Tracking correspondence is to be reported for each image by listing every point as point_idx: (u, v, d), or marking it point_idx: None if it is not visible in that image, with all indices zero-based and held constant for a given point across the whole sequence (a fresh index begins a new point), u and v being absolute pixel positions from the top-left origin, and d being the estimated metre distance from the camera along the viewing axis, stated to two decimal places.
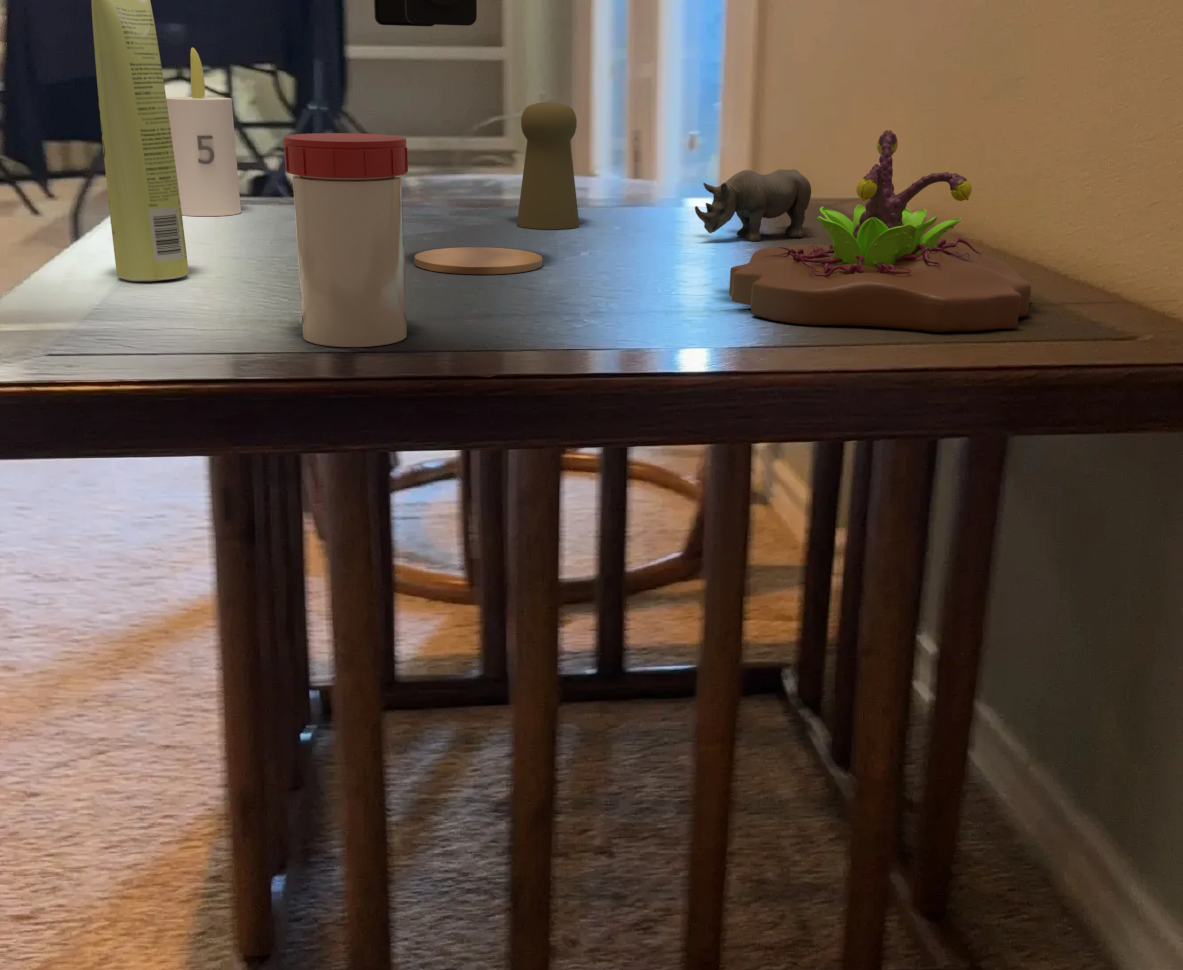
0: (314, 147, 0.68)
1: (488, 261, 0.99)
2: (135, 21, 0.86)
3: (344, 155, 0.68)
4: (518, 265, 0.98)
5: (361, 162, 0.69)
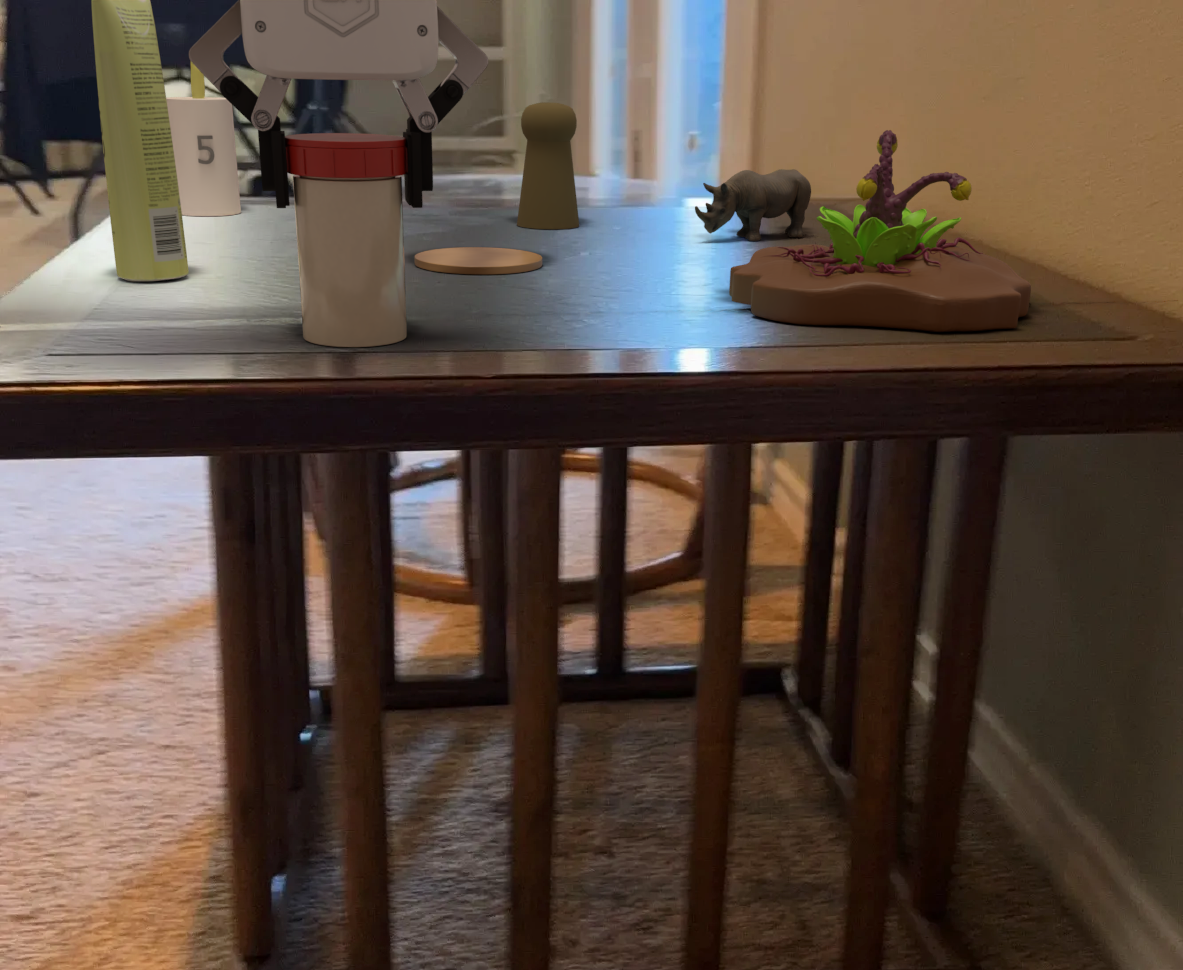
0: (314, 147, 0.68)
1: (488, 261, 0.99)
2: (135, 21, 0.86)
3: (344, 155, 0.68)
4: (518, 265, 0.98)
5: (361, 162, 0.69)
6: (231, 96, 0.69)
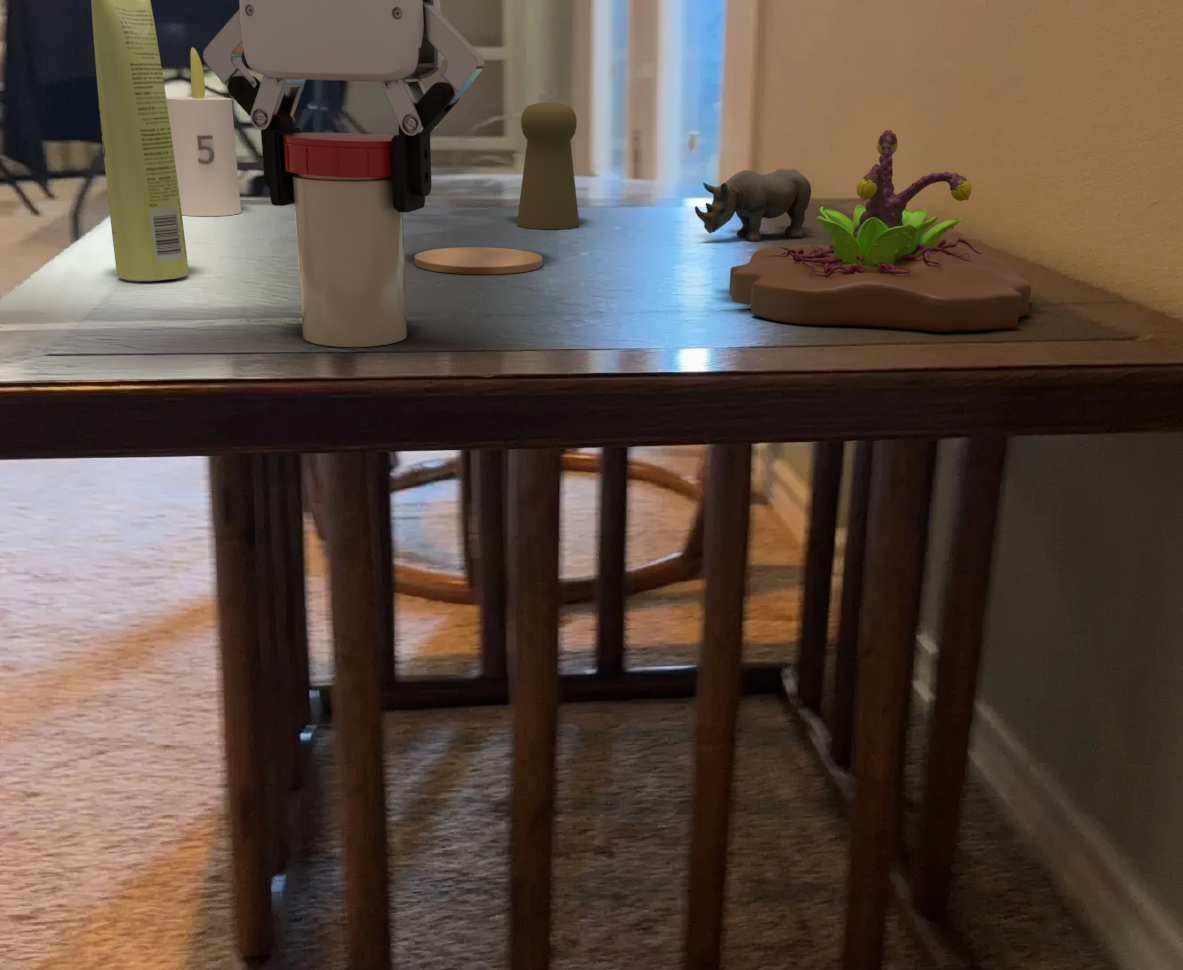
0: None
1: (488, 261, 0.99)
2: (135, 21, 0.86)
3: None
4: (518, 265, 0.98)
5: None
6: None
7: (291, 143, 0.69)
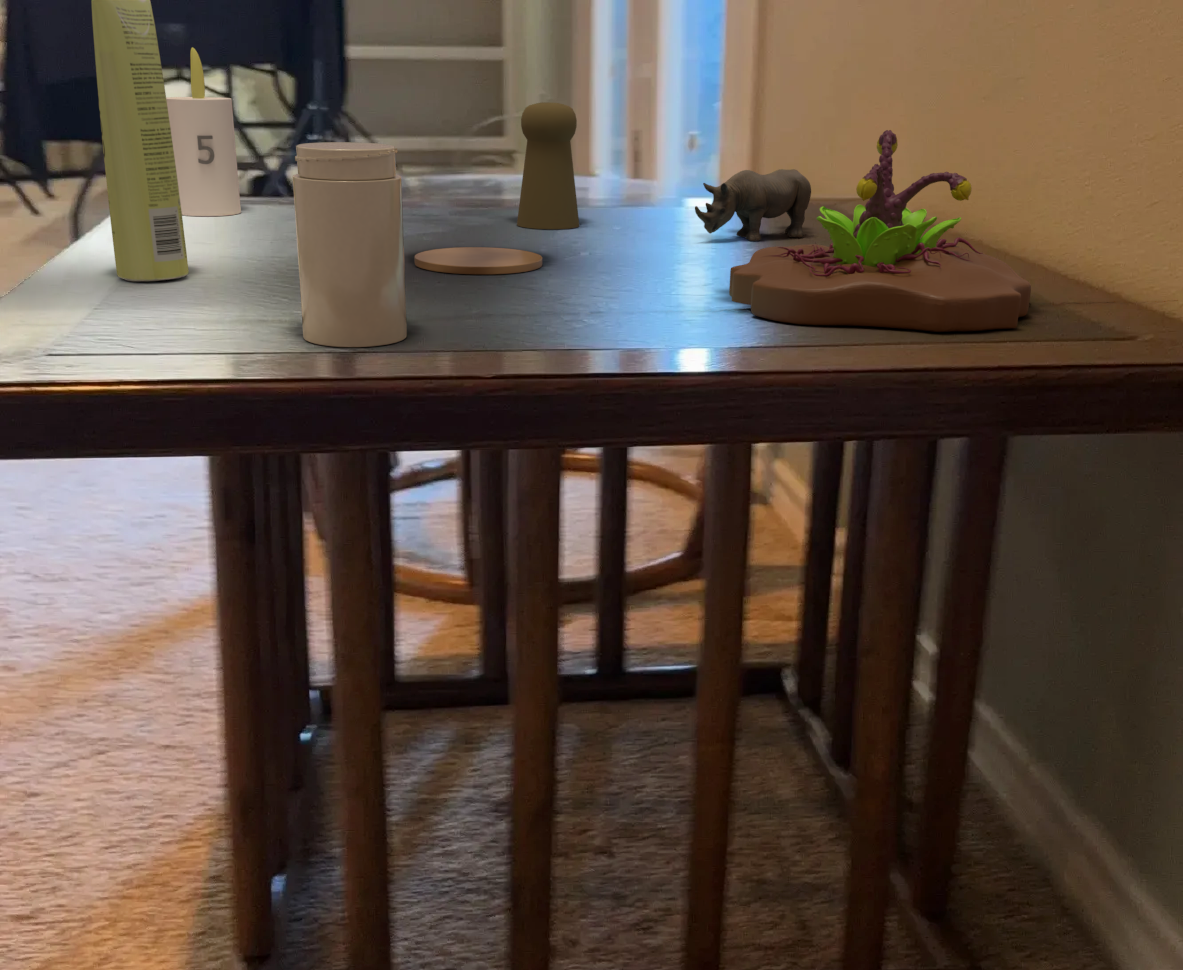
0: None
1: (488, 261, 0.99)
2: (135, 21, 0.86)
3: None
4: (518, 265, 0.98)
5: None
6: None
7: None
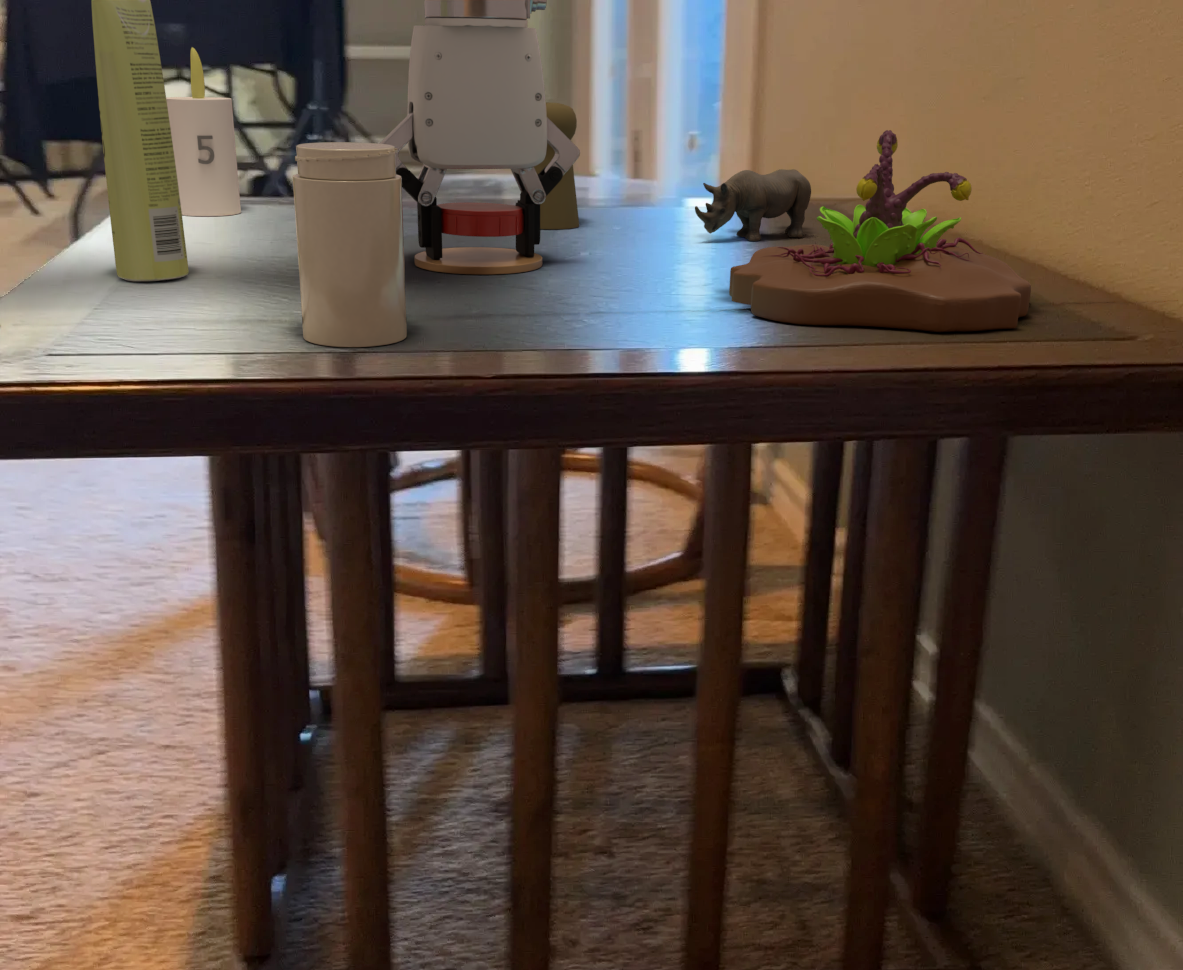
0: None
1: (488, 261, 0.99)
2: (135, 21, 0.86)
3: None
4: (518, 265, 0.98)
5: None
6: None
7: (462, 215, 0.97)
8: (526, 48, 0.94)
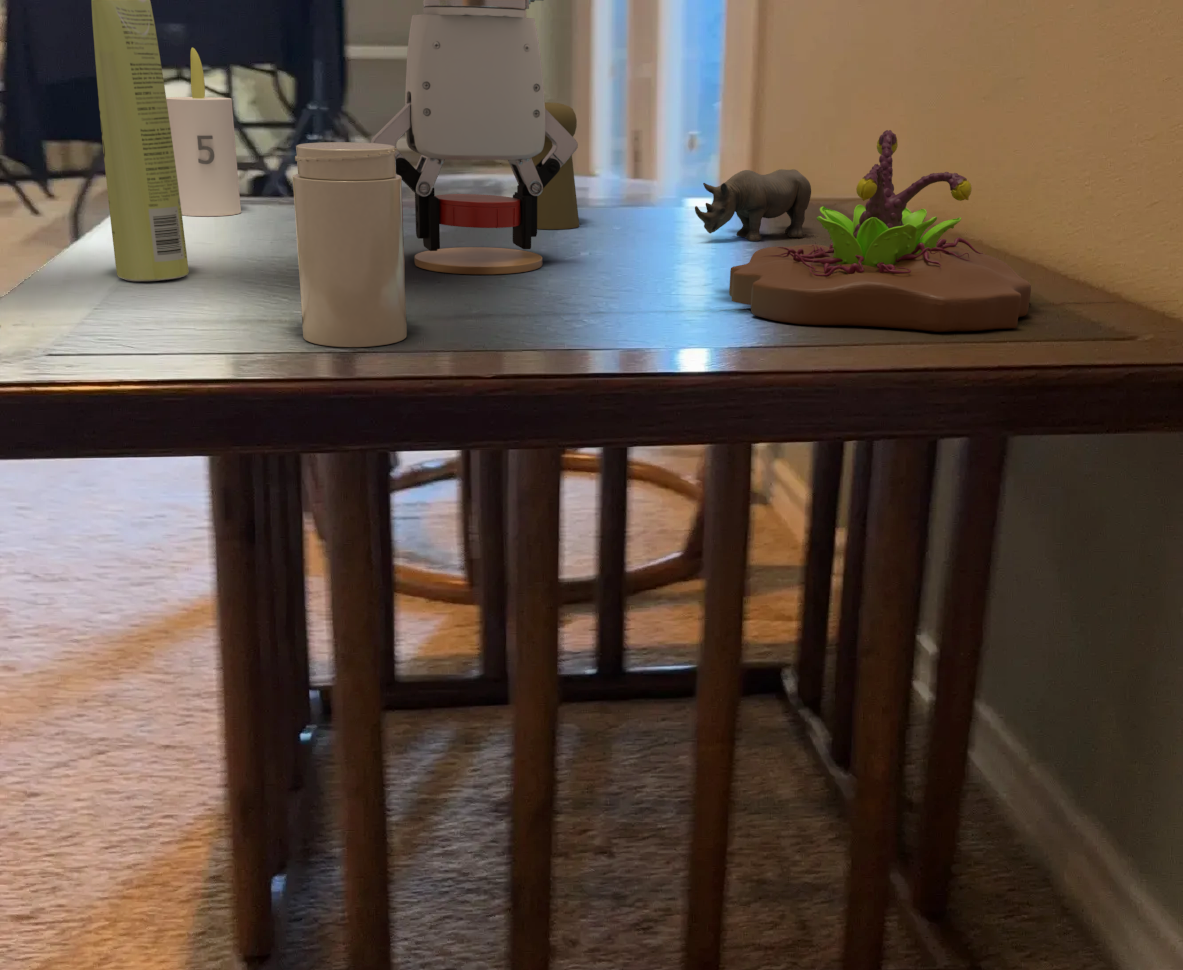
0: None
1: (488, 261, 0.99)
2: (135, 21, 0.86)
3: None
4: (518, 265, 0.98)
5: None
6: None
7: (459, 205, 0.96)
8: (525, 38, 0.94)
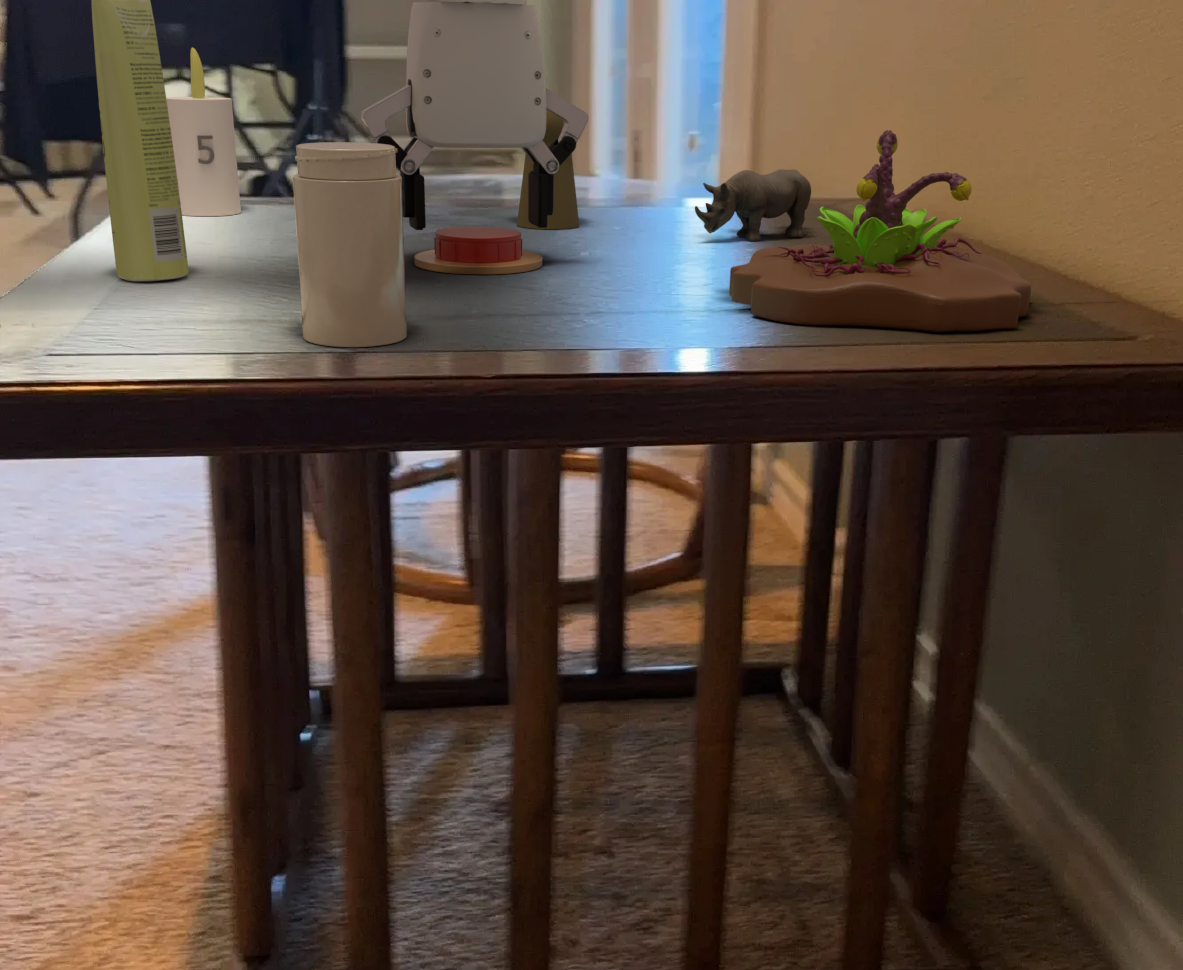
0: None
1: None
2: (135, 21, 0.86)
3: None
4: (518, 265, 0.98)
5: None
6: None
7: (461, 242, 0.97)
8: (525, 26, 0.93)
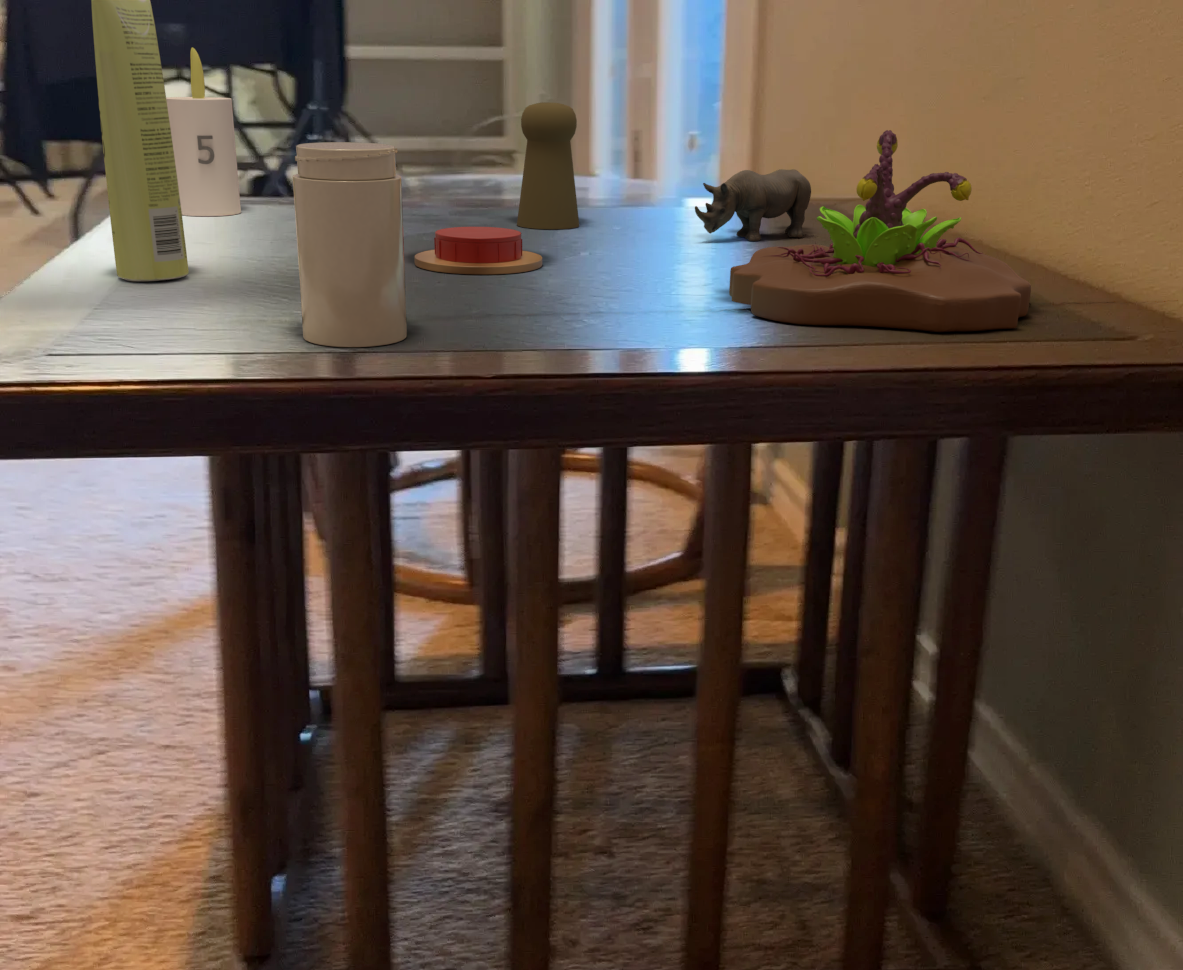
0: None
1: None
2: (135, 21, 0.86)
3: None
4: (518, 265, 0.98)
5: None
6: None
7: (461, 242, 0.97)
8: None
